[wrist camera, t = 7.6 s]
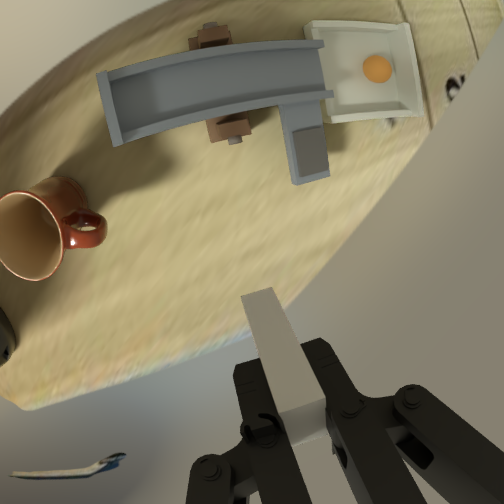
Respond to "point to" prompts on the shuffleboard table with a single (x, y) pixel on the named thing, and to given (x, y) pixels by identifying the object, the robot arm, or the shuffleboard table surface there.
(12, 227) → the mug
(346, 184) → the shuffleboard table surface
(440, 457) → the robot arm
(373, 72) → the ball
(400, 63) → the tray
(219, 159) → the shuffleboard table surface
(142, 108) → the lever
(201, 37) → the fulcrum
